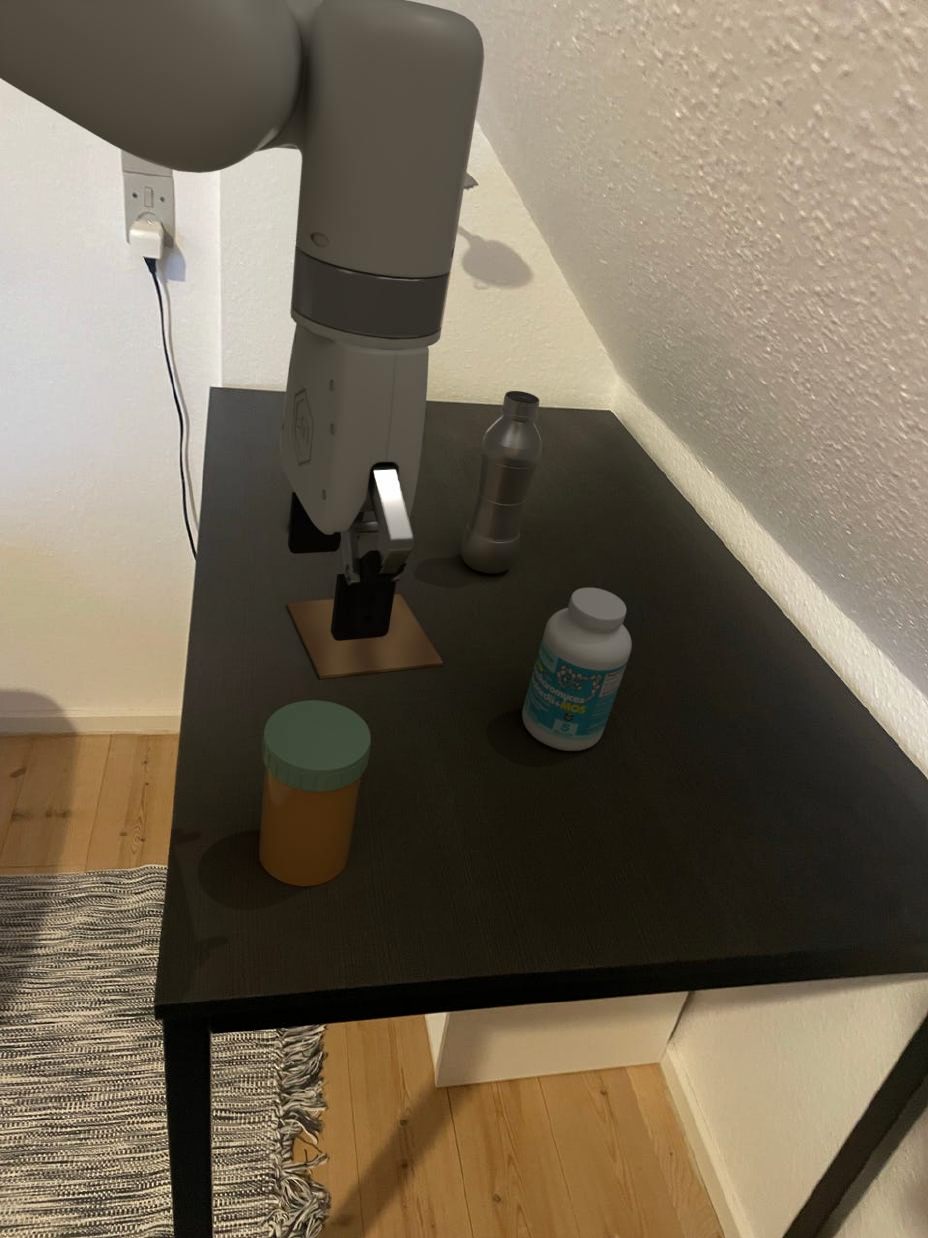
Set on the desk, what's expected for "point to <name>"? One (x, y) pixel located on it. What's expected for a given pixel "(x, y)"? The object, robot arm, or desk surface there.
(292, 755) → the jam lid
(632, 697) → the desk surface
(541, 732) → the pill bottle
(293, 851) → the jam jar
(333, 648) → the coaster
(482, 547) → the plastic bottle
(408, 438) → the robot arm
